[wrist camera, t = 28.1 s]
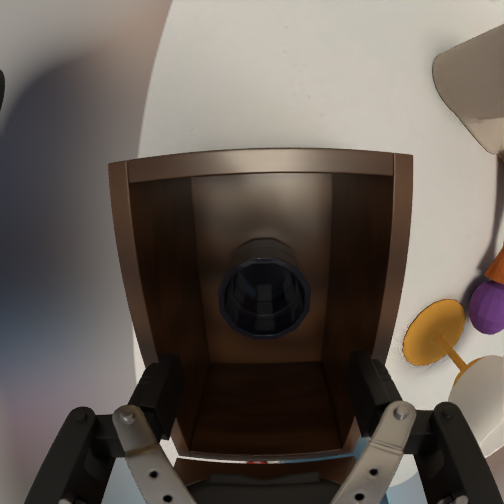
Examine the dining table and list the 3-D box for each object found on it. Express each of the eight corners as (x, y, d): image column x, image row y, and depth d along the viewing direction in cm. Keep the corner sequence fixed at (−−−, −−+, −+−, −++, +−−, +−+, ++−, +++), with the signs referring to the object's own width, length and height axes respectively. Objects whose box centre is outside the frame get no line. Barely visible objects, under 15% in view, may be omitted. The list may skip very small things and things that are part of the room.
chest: (181, 162, 22) (107, 163, 11) (340, 157, 21) (413, 155, 10) (203, 363, 28) (178, 455, 16) (327, 361, 27) (352, 453, 16)
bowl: (229, 307, 25) (222, 339, 20) (224, 238, 23) (214, 258, 18) (300, 306, 24) (307, 338, 20) (302, 236, 22) (312, 256, 18)
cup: (389, 340, 26) (454, 457, 11) (449, 282, 24) (547, 369, 9) (420, 375, 28) (472, 470, 13) (472, 327, 26) (543, 406, 11)
